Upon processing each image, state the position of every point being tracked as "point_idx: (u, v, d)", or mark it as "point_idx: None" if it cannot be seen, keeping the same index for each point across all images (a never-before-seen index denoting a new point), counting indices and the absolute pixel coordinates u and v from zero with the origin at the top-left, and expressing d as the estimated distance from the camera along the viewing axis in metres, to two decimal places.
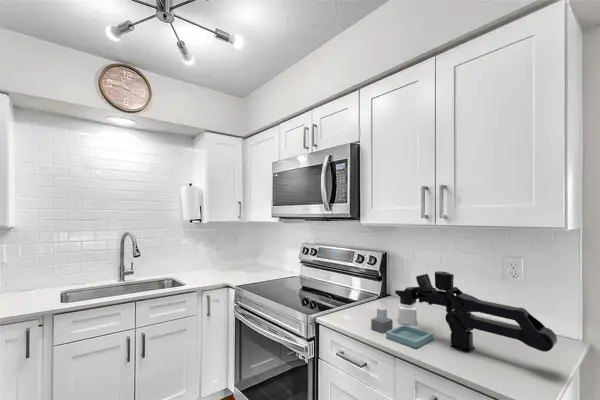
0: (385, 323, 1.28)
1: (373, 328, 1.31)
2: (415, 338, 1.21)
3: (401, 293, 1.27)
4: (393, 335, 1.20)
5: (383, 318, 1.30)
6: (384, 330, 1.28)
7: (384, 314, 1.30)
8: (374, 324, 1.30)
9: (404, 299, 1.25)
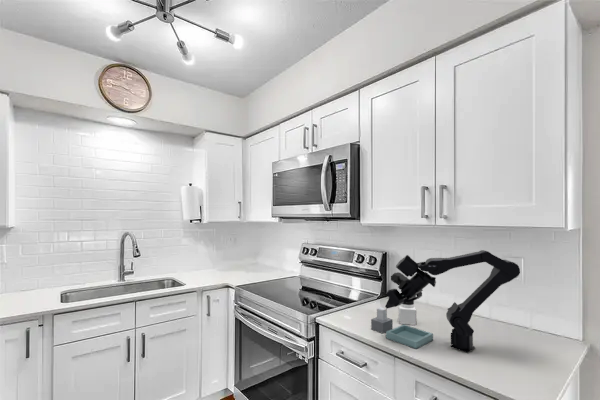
0: (385, 323, 1.28)
1: (373, 328, 1.31)
2: (415, 338, 1.21)
3: (389, 302, 1.22)
4: (393, 335, 1.20)
5: (383, 318, 1.30)
6: (384, 330, 1.28)
7: (383, 314, 1.30)
8: (374, 324, 1.30)
9: (394, 305, 1.20)
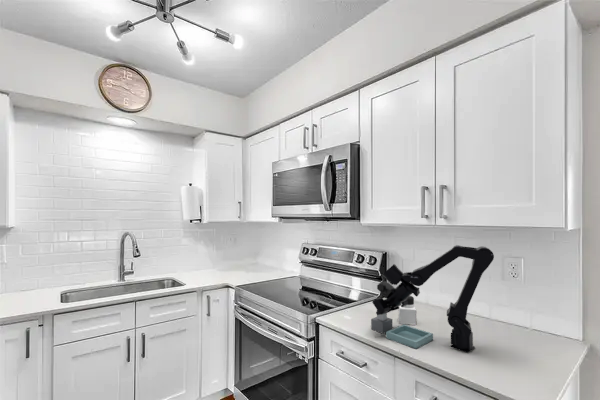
0: (385, 323, 1.28)
1: (373, 328, 1.31)
2: (415, 338, 1.21)
3: None
4: (393, 335, 1.20)
5: (383, 318, 1.30)
6: (384, 330, 1.28)
7: (383, 314, 1.30)
8: (373, 324, 1.30)
9: None
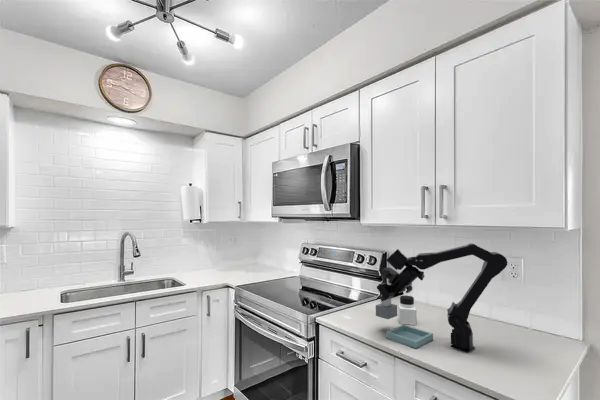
0: (390, 308, 1.27)
1: (378, 314, 1.29)
2: (415, 338, 1.21)
3: None
4: (393, 335, 1.20)
5: (387, 304, 1.29)
6: (389, 316, 1.26)
7: (388, 300, 1.29)
8: (378, 310, 1.29)
9: None
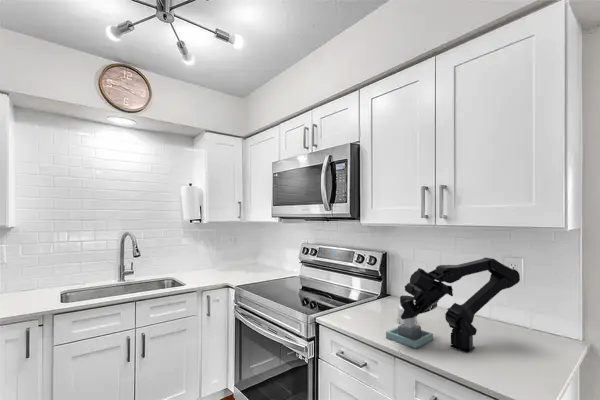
0: (414, 331, 1.18)
1: None
2: None
3: (405, 313, 1.18)
4: (393, 335, 1.20)
5: (411, 325, 1.20)
6: (413, 338, 1.18)
7: (412, 321, 1.20)
8: (401, 332, 1.21)
9: None
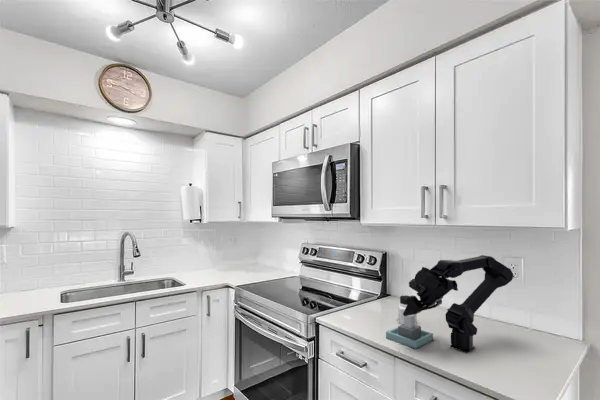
0: (414, 331, 1.18)
1: None
2: None
3: (407, 310, 1.16)
4: (393, 335, 1.20)
5: (411, 325, 1.20)
6: (413, 338, 1.18)
7: (412, 321, 1.20)
8: (401, 332, 1.21)
9: (413, 312, 1.14)
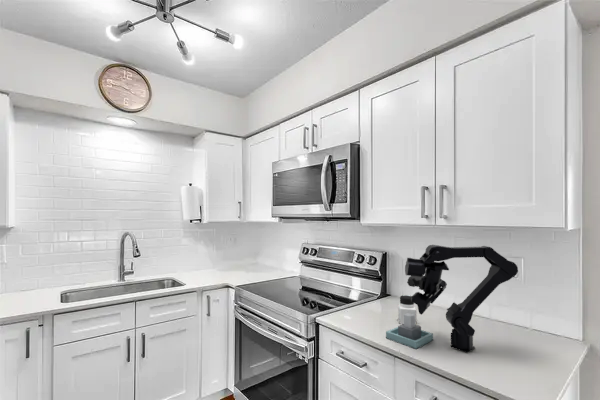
0: (414, 331, 1.18)
1: None
2: None
3: (420, 307, 1.18)
4: (393, 335, 1.20)
5: (411, 325, 1.20)
6: (413, 338, 1.18)
7: (412, 321, 1.20)
8: (401, 332, 1.21)
9: None
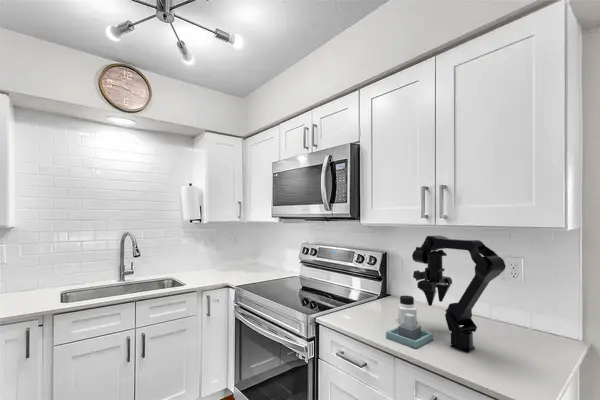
0: (414, 331, 1.18)
1: None
2: None
3: (428, 296, 1.23)
4: (393, 335, 1.20)
5: (411, 325, 1.20)
6: (413, 338, 1.18)
7: (412, 321, 1.20)
8: (401, 332, 1.21)
9: (432, 293, 1.21)
